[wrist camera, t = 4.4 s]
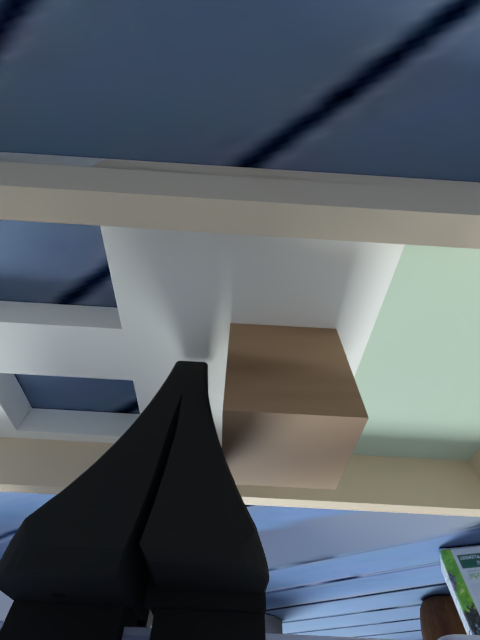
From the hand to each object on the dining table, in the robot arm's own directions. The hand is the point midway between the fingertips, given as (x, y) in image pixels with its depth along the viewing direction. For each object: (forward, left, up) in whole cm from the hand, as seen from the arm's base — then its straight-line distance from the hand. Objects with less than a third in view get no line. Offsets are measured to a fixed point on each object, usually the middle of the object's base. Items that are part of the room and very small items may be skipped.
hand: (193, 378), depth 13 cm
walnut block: (0, -4, -1) cm, 4 cm away
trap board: (0, -2, -3) cm, 3 cm away
